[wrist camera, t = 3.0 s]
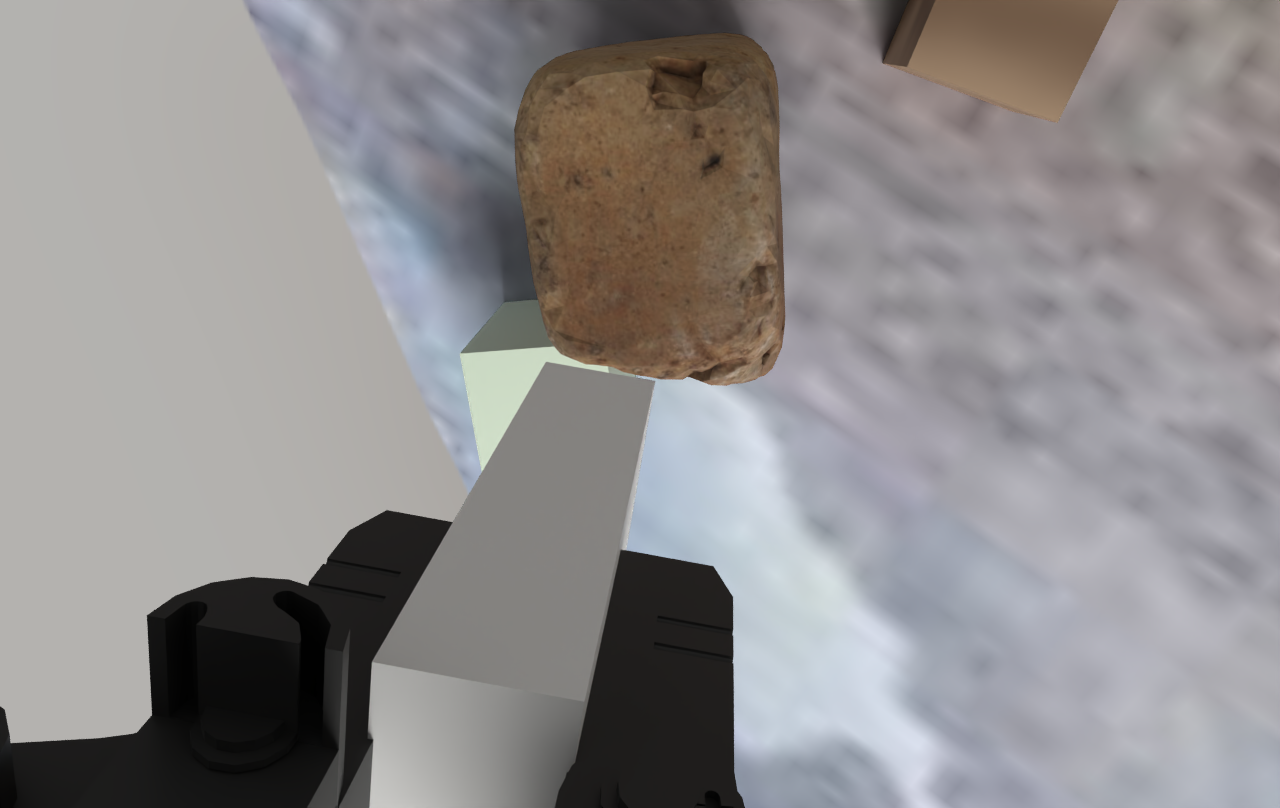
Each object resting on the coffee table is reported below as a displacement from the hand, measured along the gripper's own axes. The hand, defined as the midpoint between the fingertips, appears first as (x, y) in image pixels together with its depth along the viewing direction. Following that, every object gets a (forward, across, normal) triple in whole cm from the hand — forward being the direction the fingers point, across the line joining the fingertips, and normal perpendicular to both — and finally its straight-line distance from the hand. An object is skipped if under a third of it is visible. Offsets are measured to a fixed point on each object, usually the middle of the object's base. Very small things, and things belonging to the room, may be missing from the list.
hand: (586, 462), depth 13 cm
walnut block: (+32, +11, +8) cm, 34 cm away
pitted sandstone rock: (+32, 0, 0) cm, 32 cm away
